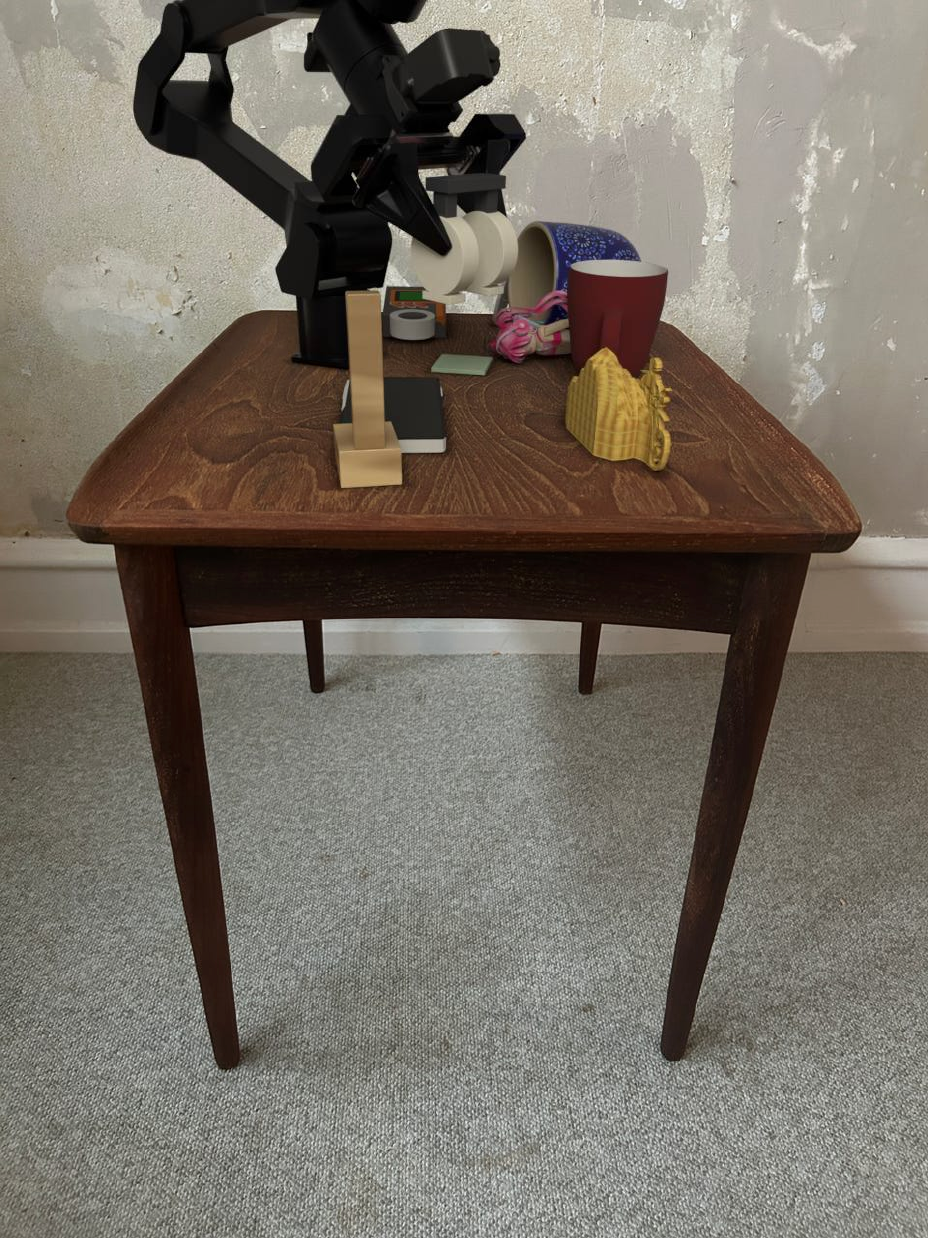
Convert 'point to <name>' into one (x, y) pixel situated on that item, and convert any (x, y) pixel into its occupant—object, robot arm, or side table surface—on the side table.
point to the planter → (558, 262)
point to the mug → (615, 310)
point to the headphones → (467, 241)
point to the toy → (532, 331)
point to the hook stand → (366, 402)
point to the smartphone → (410, 412)
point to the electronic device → (412, 314)
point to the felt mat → (462, 364)
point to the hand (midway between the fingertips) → (477, 247)
